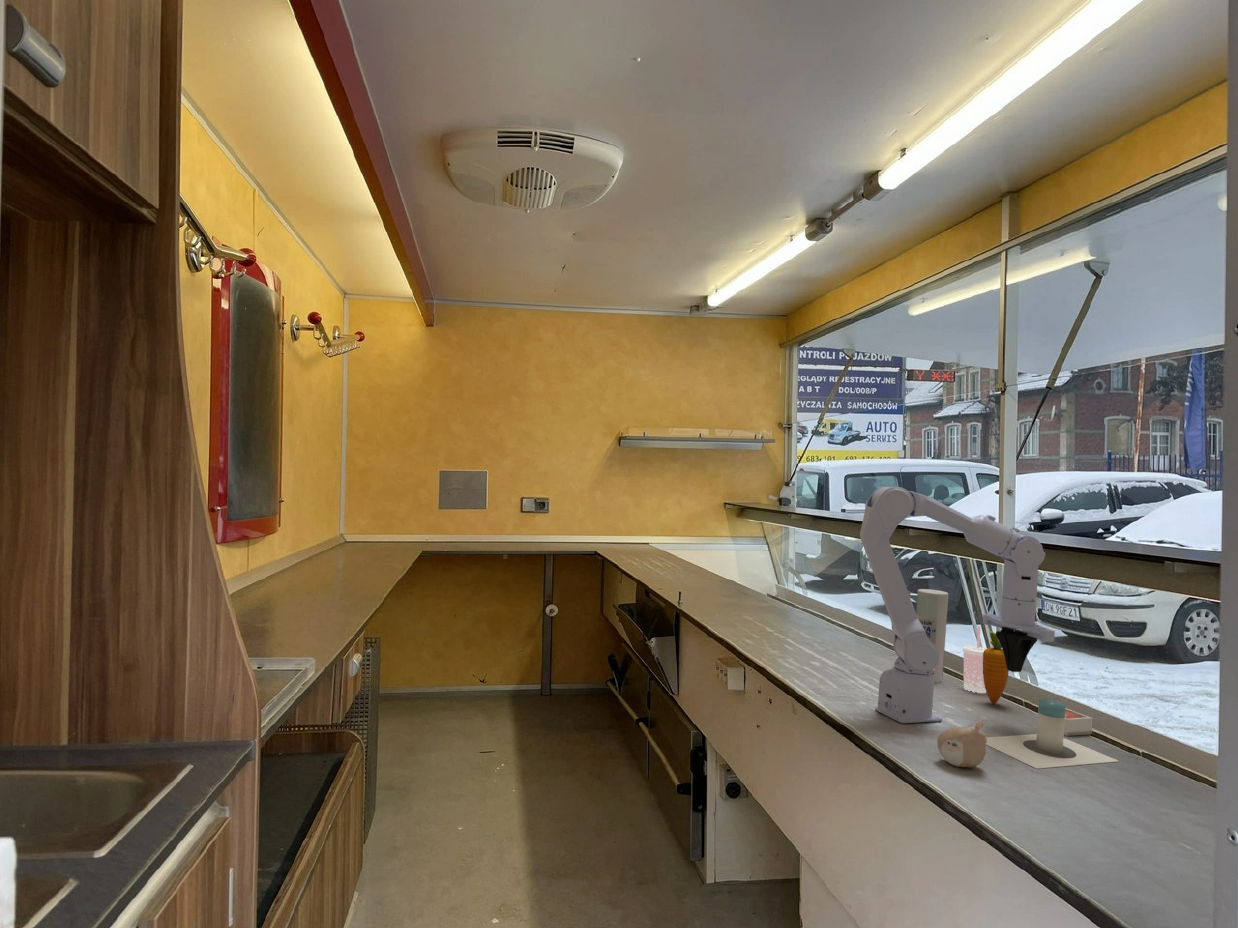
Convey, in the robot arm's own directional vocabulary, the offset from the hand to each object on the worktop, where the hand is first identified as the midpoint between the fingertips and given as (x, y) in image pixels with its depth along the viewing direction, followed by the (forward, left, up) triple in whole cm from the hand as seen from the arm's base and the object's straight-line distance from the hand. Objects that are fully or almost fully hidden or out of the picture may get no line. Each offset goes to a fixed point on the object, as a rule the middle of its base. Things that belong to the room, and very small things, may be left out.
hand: (1014, 670), depth 140 cm
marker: (-3, -11, -10) cm, 15 cm away
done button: (+10, -3, -10) cm, 14 cm away
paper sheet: (-4, -11, -10) cm, 16 cm away
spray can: (+7, +30, -11) cm, 33 cm away
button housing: (+10, -3, -10) cm, 15 cm away
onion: (-25, -14, -11) cm, 31 cm away
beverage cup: (+12, +21, -11) cm, 26 cm away
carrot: (+8, +12, -11) cm, 18 cm away
